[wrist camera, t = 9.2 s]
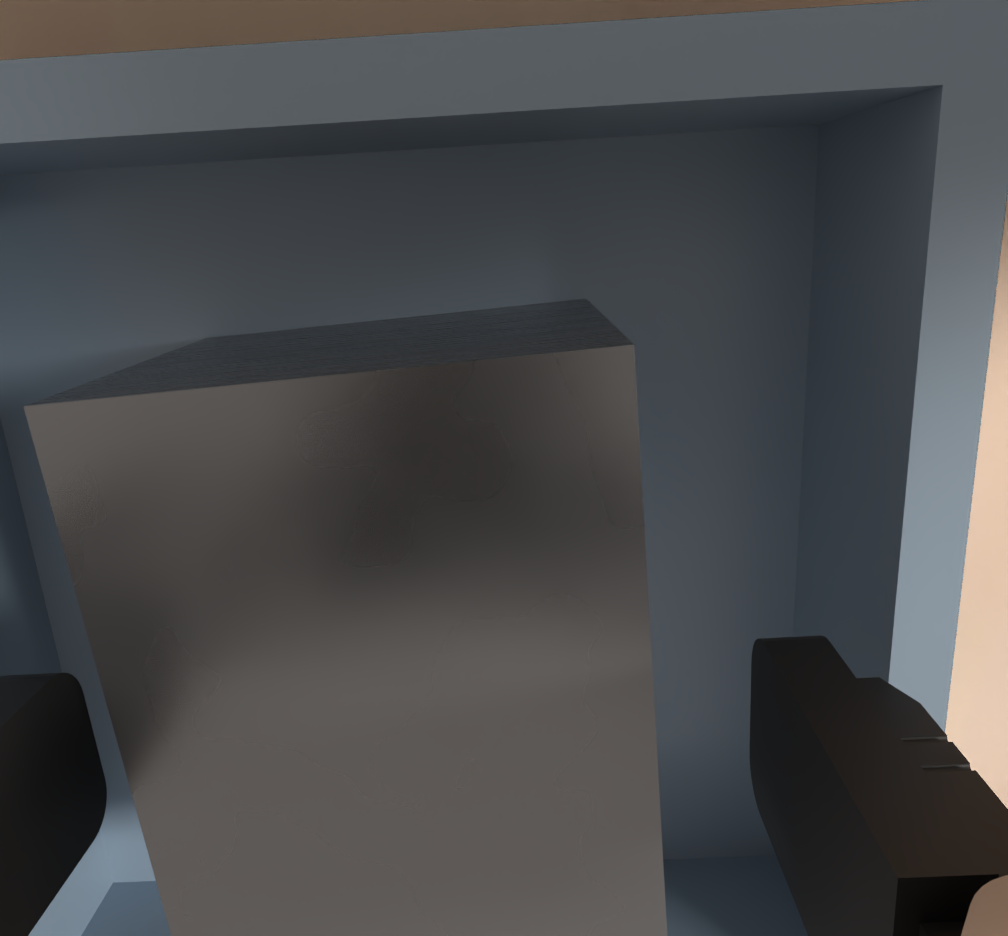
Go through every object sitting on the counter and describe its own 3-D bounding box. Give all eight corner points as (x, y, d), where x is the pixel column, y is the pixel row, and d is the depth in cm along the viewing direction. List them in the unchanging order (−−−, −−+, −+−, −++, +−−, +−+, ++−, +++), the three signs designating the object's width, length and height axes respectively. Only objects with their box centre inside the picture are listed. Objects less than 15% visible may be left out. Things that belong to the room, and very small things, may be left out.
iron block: (586, 298, 13) (634, 344, 8) (618, 740, 15) (670, 987, 10) (206, 338, 13) (24, 406, 8) (295, 767, 15) (195, 1021, 10)
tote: (850, 73, 12) (1030, -7, 8) (803, 848, 17) (906, 1066, 12) (-79, 131, 13) (-374, 84, 9) (105, 877, 17) (-32, 1099, 13)
